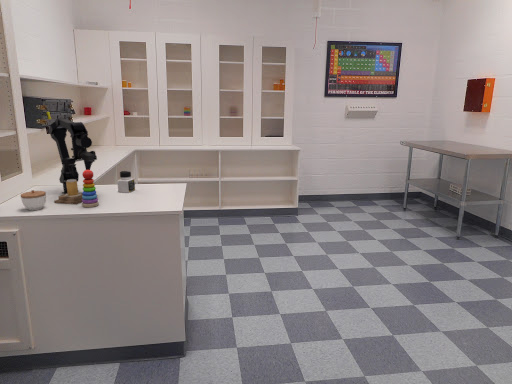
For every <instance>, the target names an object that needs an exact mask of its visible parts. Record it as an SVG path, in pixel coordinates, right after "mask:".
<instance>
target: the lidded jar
mask: <svg viewBox="0 0 512 384" xmlns="http://www.w3.org/2000/svg"><path fill="white" fill-rule="evenodd" d="M46 195H47V193H46V191H43V190H34V189H31V190H30V191H26V192H23V193H21V194H20V199H21V203H22V205H23V206H24V207H25V208H26V209H27V210H29V211H38V210H41V209H43V207H44V206H45V205H46V203H47V196H46Z"/></svg>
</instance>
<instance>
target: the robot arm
mask: <svg viewBox="0 0 512 384" xmlns="http://www.w3.org/2000/svg"><path fill="white" fill-rule="evenodd" d="M86 128H87V127H86V125H85V124H84V123H83V122H81V121H80V122H79V121H77V122H75V121H74V122H73V121H71V120H69V119H66V118H64V117H61V118H55V120H54V122H51V124H49V127H48V134H49V135H50V137H51V139H52V140H53V141H54V142H55V145H56V147H57V151H58V154H59V158H60V161H61V165H62V167H61V169H60V176H59V183H61V184H62V189H63V191H61V194H67V185H66V181H67V180H69V179H76V181H77V183H78V182H79V176H80V175H79V174H80V173H79V172H78V169H77V167H76V165H77V164H76V162H82V161H83V163H84V168H85V170H91V167H92V165H93V163H95V162H96V161H97V160H98V158H97V155H96V154H97V153H96V151H95V150H90V151H87V150H88V148H90V147H92V145H93V141H92V139H91V138H90V137H89V133H88V132H89V131H88V130H87V129H86ZM67 132H69V134H70V138H71V145H72V146H71V148H70V151H72V154H73V155H71V157H70V154H69V150H68V147H67V143H66V137H67V136H68V135H67Z"/></svg>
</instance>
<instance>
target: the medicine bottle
mask: <svg viewBox="0 0 512 384" xmlns="http://www.w3.org/2000/svg"><path fill="white" fill-rule="evenodd" d="M119 178H120V179H118V180H116V181H117V182H116V183H117V191H118V193H128V194H129V193H131V192H134V191H135V190H136V183H135V178H132V171H130V170H123V171H122V170H121V171H120V172H119Z"/></svg>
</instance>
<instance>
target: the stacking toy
mask: <svg viewBox="0 0 512 384" xmlns="http://www.w3.org/2000/svg"><path fill="white" fill-rule="evenodd" d="M82 177H83V180H82V182H83V184H82V192H81V193H82V194H83V196H82V198H83V199H82V202H81V206H82V207H84V208H95V207H97V206H99V204H100V203H99V201H98V200H99V198H98V195H97V191H96V189H97V188H96V185H95V183H94V182H95V179H93V177H94V172H93V171H92V169H90V170H86V169H85V170H83V172H82Z"/></svg>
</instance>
